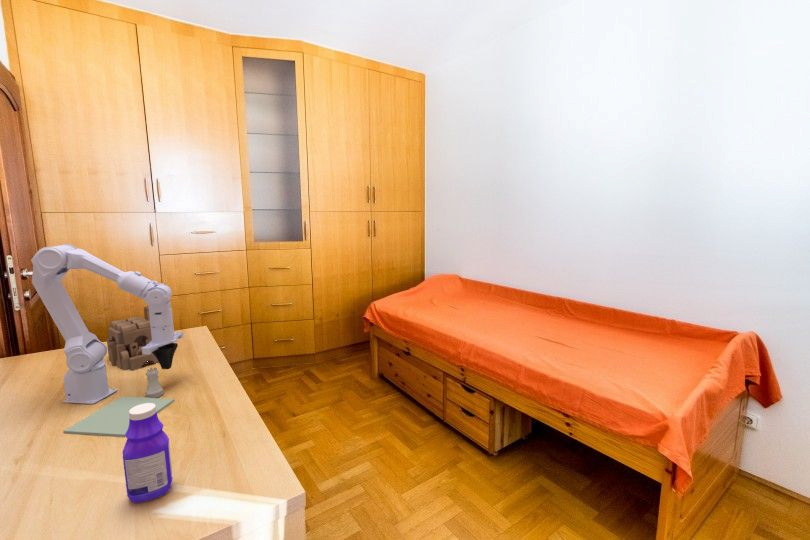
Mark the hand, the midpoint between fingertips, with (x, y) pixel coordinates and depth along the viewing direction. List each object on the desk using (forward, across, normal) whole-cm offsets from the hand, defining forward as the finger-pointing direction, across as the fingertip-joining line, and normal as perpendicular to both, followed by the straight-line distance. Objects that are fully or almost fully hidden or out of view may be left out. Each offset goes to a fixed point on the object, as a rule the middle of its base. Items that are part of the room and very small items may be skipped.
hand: (166, 368), depth 114 cm
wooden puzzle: (+6, +20, +27) cm, 34 cm away
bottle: (+6, -41, -28) cm, 50 cm away
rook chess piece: (+6, -6, 0) cm, 8 cm away
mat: (+6, -17, 0) cm, 18 cm away
